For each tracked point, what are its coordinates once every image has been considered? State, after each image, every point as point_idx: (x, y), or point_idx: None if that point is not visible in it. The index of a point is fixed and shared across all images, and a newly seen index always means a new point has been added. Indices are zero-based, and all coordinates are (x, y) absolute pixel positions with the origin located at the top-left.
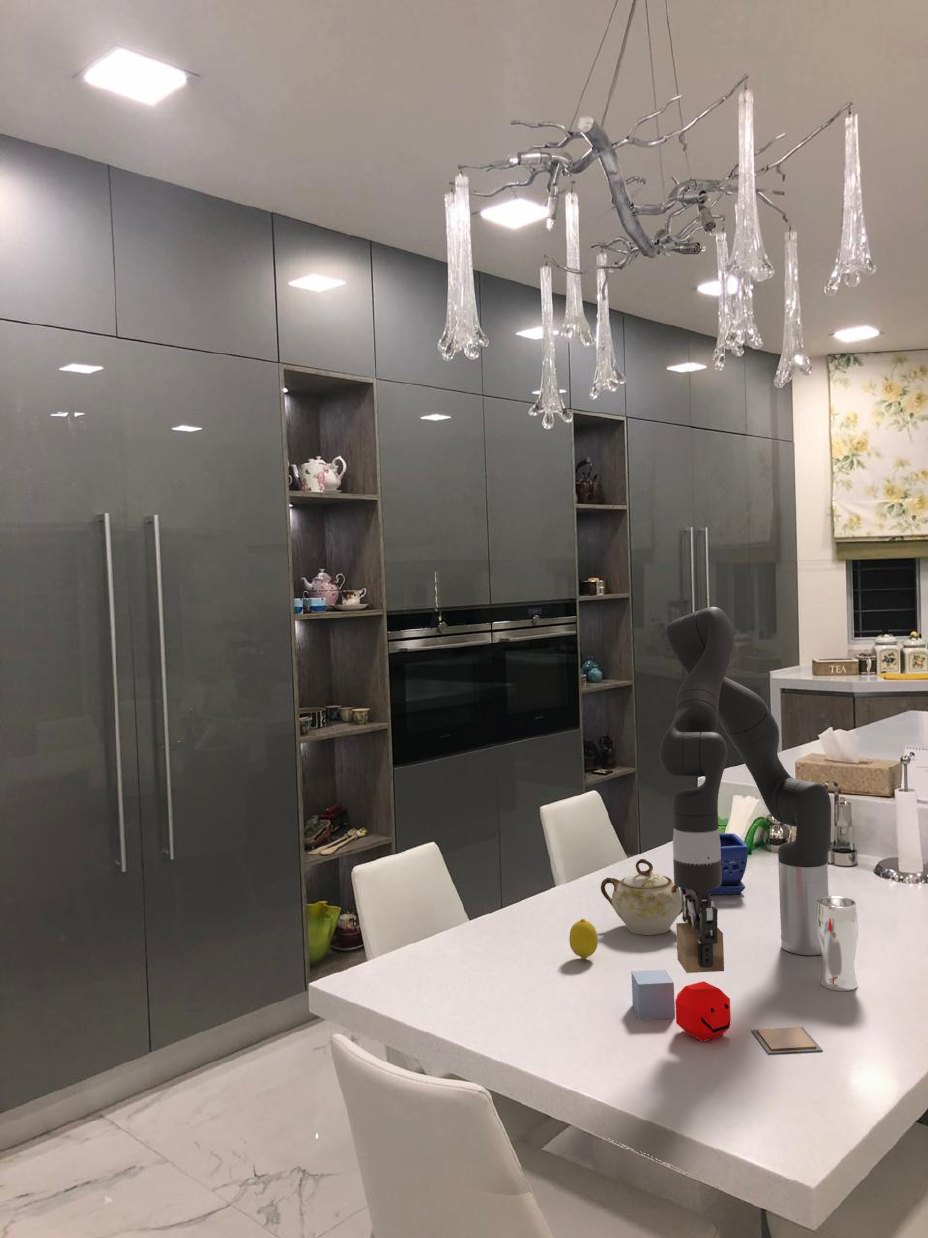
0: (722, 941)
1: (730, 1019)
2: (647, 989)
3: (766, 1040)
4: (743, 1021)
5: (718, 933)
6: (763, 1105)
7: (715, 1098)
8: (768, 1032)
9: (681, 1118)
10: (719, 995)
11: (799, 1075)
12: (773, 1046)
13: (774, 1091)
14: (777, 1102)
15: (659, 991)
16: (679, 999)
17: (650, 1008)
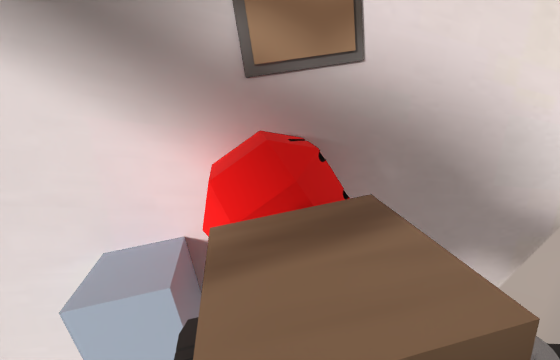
0: (476, 278)
1: (267, 132)
2: None
3: (314, 52)
4: (187, 87)
5: (531, 351)
6: (529, 108)
7: (494, 179)
8: (271, 37)
9: (529, 226)
10: (310, 179)
11: (452, 13)
12: (345, 42)
13: (495, 80)
14: (527, 82)
15: (183, 304)
16: None
17: (194, 294)
